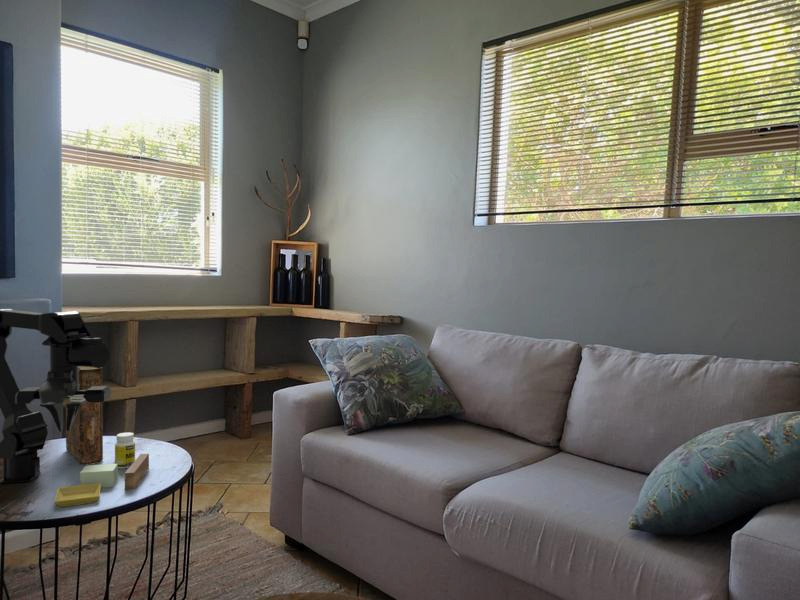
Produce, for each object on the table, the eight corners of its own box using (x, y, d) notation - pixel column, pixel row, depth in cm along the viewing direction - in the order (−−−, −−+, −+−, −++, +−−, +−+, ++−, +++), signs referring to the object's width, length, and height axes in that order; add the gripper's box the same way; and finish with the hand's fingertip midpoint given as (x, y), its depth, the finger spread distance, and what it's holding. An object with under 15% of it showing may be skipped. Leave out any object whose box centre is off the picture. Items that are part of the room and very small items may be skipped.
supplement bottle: (126, 470, 145) (126, 437, 144) (110, 468, 145) (110, 436, 145) (139, 464, 149) (139, 432, 149) (123, 462, 150) (123, 431, 150)
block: (80, 489, 132) (80, 472, 132) (85, 481, 137) (85, 465, 136) (113, 487, 134) (113, 470, 133) (117, 479, 138) (117, 463, 138)
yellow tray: (101, 490, 132) (101, 482, 132) (100, 504, 124) (99, 495, 124) (57, 496, 128) (57, 487, 128) (54, 511, 120) (53, 501, 120)
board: (124, 490, 132) (124, 473, 131) (140, 469, 145) (140, 453, 145) (134, 489, 132) (133, 472, 132) (148, 468, 146) (148, 453, 145)
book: (104, 461, 150) (103, 368, 149) (81, 465, 147) (80, 370, 146) (87, 446, 163) (87, 360, 161) (66, 450, 159) (65, 362, 158)
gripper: (2, 371, 123) (3, 442, 123) (95, 370, 126) (96, 439, 127) (26, 363, 134) (26, 428, 134) (111, 362, 137) (111, 426, 138)
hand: (64, 430), depth 133 cm, fingers closed
